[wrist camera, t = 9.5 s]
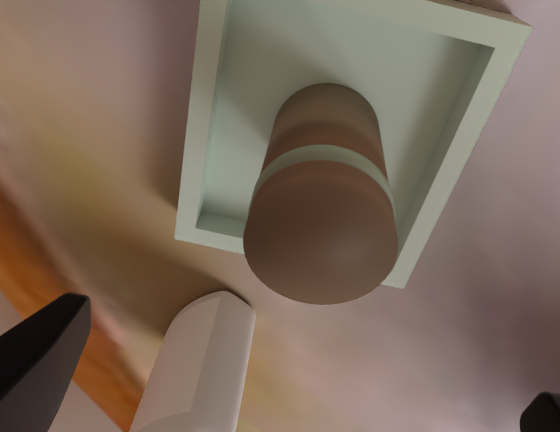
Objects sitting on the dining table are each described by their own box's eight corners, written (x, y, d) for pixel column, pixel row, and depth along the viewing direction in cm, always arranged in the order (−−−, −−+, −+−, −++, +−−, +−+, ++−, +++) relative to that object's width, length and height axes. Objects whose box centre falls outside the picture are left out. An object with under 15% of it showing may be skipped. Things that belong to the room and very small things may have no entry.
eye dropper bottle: (144, 301, 25) (21, 574, 15) (245, 282, 23) (184, 567, 13) (179, 356, 27) (93, 625, 17) (273, 342, 26) (238, 624, 16)
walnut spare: (361, 191, 19) (371, 319, 14) (263, 168, 19) (231, 288, 13) (396, 96, 17) (425, 201, 11) (283, 70, 17) (255, 162, 11)
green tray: (398, 263, 22) (403, 289, 20) (184, 215, 21) (174, 239, 20) (514, 15, 16) (533, 27, 14) (217, -60, 15) (206, -55, 14)
